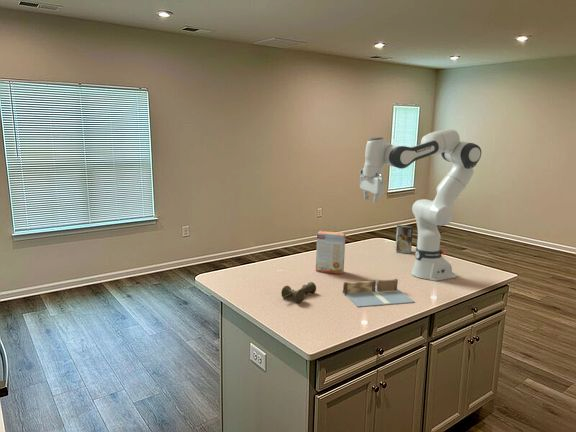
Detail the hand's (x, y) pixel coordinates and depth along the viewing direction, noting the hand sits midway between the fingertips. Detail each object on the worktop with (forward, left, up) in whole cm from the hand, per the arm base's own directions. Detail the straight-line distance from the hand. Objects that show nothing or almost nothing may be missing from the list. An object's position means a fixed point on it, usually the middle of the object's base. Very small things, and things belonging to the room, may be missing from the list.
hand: (370, 201), depth 208 cm
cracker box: (+12, -17, -40) cm, 46 cm away
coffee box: (-46, -45, -40) cm, 76 cm away
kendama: (+38, +15, -41) cm, 58 cm away
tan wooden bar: (+10, +15, -39) cm, 43 cm away
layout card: (+3, +20, -40) cm, 45 cm away
